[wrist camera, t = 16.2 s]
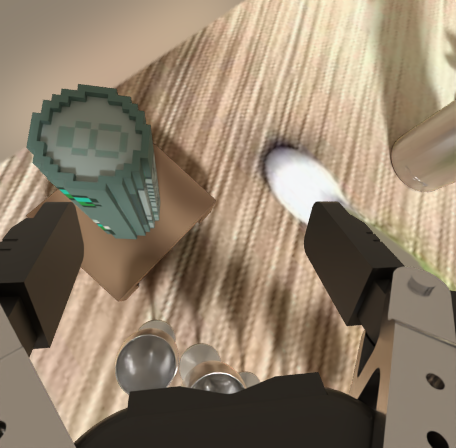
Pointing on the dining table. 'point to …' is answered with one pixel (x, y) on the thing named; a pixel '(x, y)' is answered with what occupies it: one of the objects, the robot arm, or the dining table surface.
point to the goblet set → (174, 363)
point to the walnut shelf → (144, 245)
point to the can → (99, 157)
